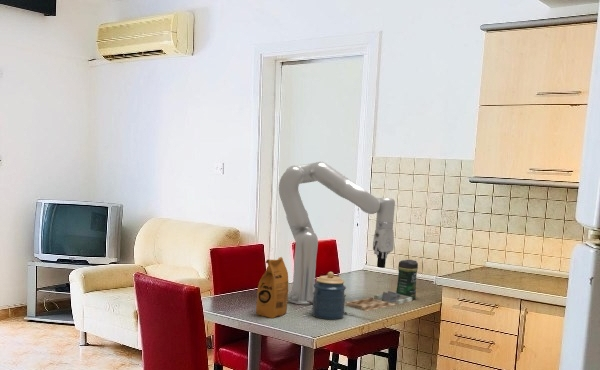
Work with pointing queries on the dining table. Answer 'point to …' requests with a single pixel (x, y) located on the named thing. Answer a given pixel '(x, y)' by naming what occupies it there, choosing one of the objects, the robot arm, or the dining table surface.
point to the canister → (329, 297)
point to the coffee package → (273, 290)
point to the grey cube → (395, 295)
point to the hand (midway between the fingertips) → (380, 267)
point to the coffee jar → (407, 278)
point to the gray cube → (388, 297)
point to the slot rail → (375, 303)
